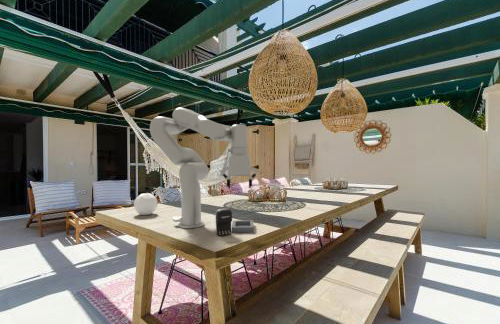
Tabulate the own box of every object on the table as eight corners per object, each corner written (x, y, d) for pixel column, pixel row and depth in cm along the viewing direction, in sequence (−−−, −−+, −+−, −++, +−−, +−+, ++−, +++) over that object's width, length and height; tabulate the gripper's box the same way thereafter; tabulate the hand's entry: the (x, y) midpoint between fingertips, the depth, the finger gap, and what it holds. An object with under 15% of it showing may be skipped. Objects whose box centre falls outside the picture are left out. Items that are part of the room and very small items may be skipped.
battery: (218, 237, 110) (217, 211, 110) (215, 235, 114) (215, 209, 114) (233, 235, 113) (233, 209, 113) (230, 233, 117) (230, 207, 116)
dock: (231, 233, 117) (231, 227, 117) (233, 225, 130) (232, 220, 130) (253, 232, 117) (253, 227, 117) (253, 225, 130) (252, 220, 130)
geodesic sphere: (147, 201, 169) (138, 186, 161) (165, 202, 166) (157, 187, 157) (135, 219, 158) (125, 203, 150) (154, 220, 155) (145, 204, 147)
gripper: (220, 151, 117) (220, 189, 117) (258, 151, 118) (258, 188, 118) (221, 151, 125) (221, 187, 125) (257, 151, 125) (257, 186, 126)
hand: (239, 188), depth 122 cm, fingers open, 9 cm apart
